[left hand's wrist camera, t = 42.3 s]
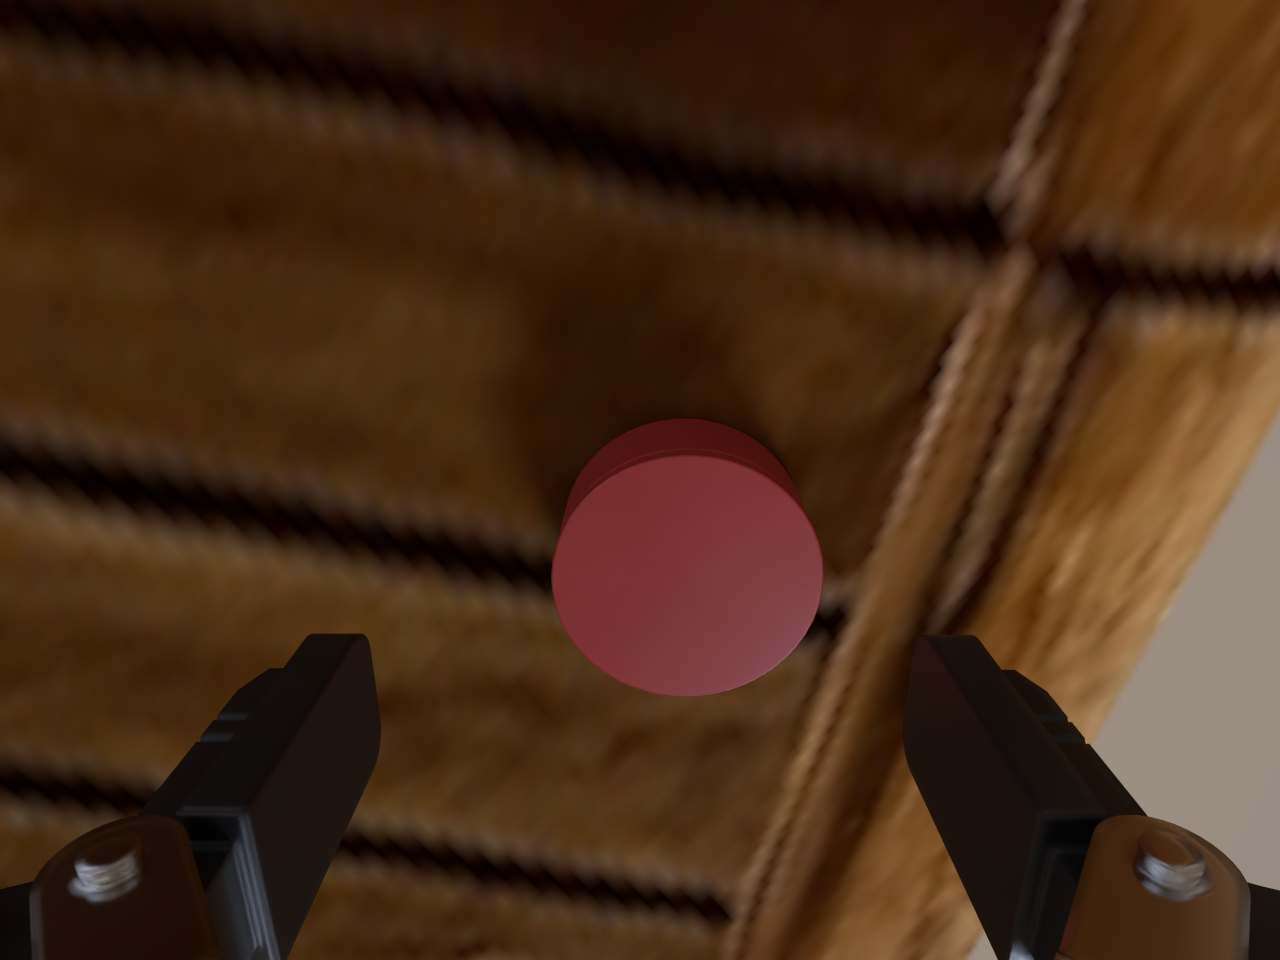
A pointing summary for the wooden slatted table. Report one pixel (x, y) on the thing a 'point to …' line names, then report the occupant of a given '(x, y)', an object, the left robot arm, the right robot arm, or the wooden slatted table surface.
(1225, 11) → the wooden slatted table surface
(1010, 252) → the wooden slatted table surface
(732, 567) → the lid
